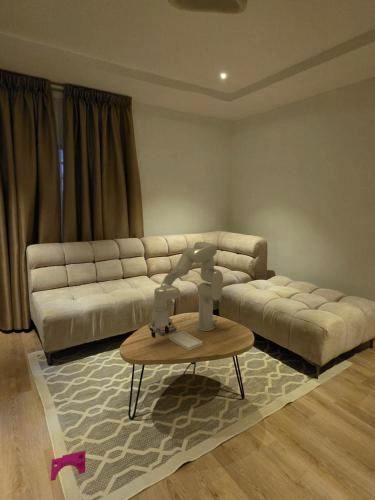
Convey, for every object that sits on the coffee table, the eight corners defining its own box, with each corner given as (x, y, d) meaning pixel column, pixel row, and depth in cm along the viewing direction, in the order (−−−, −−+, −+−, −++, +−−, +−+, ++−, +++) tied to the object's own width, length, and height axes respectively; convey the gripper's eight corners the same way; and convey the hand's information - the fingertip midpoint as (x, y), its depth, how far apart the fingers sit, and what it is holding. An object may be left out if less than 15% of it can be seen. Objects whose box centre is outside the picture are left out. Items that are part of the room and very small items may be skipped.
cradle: (182, 334, 195) (182, 330, 195) (202, 345, 181) (202, 341, 180) (168, 338, 188) (168, 335, 188) (188, 350, 174) (188, 347, 173)
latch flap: (168, 318, 204) (169, 317, 204) (174, 327, 200) (175, 326, 199) (155, 322, 197) (155, 321, 197) (161, 331, 193) (161, 330, 192)
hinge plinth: (168, 326, 207) (168, 322, 206) (176, 331, 199) (176, 326, 199) (153, 331, 199) (153, 326, 199) (161, 336, 192) (161, 331, 191)
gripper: (168, 303, 186) (168, 329, 189) (144, 309, 175) (144, 336, 178) (175, 307, 181) (175, 333, 183) (151, 313, 170) (151, 341, 172)
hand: (160, 335), depth 181 cm, fingers open, 9 cm apart
